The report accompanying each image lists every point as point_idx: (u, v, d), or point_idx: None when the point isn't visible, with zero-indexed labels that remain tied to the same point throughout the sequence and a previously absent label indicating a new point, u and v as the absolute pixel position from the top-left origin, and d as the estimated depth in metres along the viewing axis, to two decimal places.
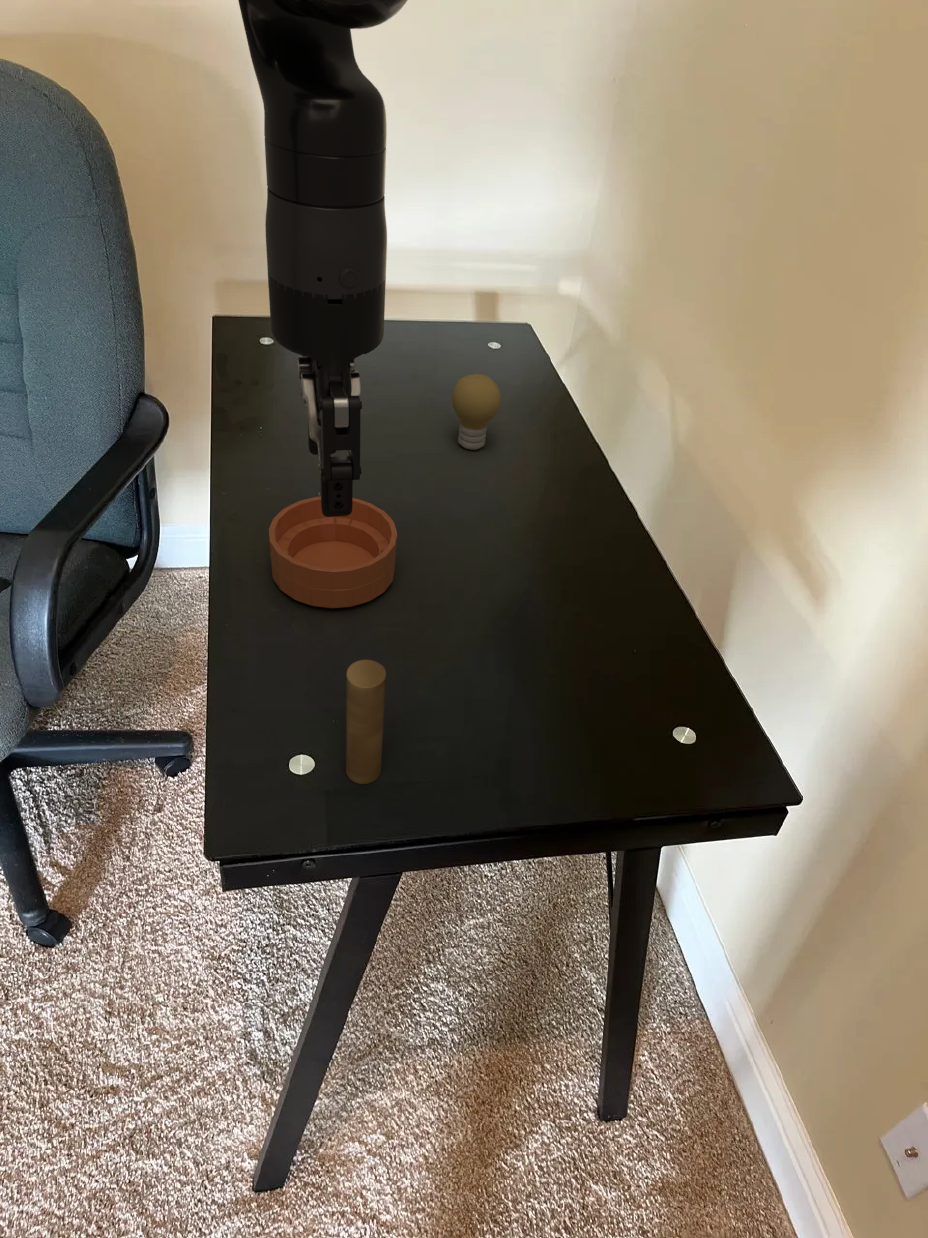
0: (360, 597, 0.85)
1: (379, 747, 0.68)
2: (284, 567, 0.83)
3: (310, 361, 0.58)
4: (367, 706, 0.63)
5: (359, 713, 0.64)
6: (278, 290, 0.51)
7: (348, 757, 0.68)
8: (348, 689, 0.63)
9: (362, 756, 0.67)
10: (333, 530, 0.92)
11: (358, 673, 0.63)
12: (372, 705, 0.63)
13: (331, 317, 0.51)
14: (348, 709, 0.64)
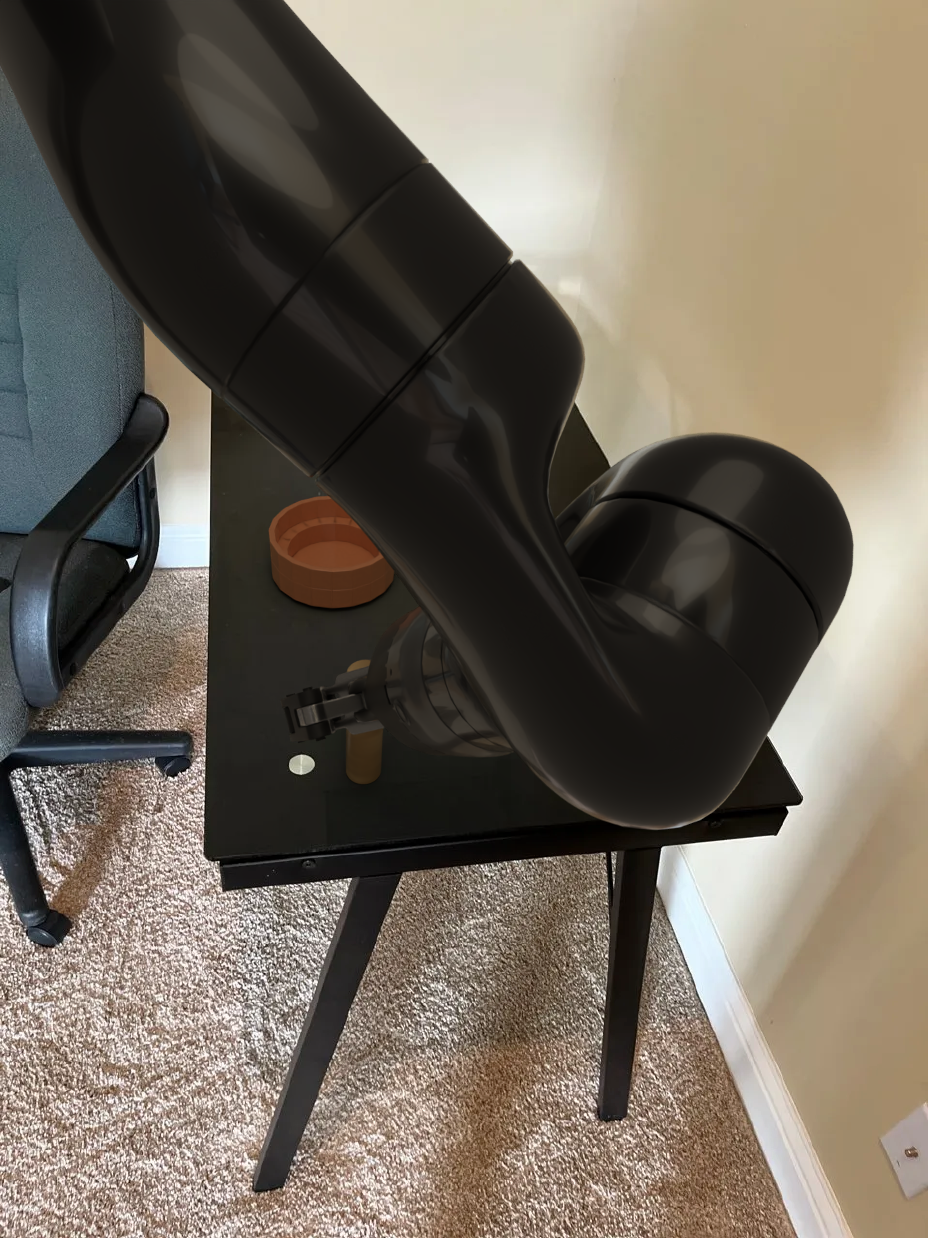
0: (360, 597, 0.85)
1: (379, 747, 0.68)
2: (284, 567, 0.83)
3: None
4: None
5: None
6: (408, 614, 0.38)
7: (348, 757, 0.68)
8: None
9: (362, 756, 0.67)
10: (333, 530, 0.92)
11: None
12: None
13: (381, 690, 0.38)
14: None
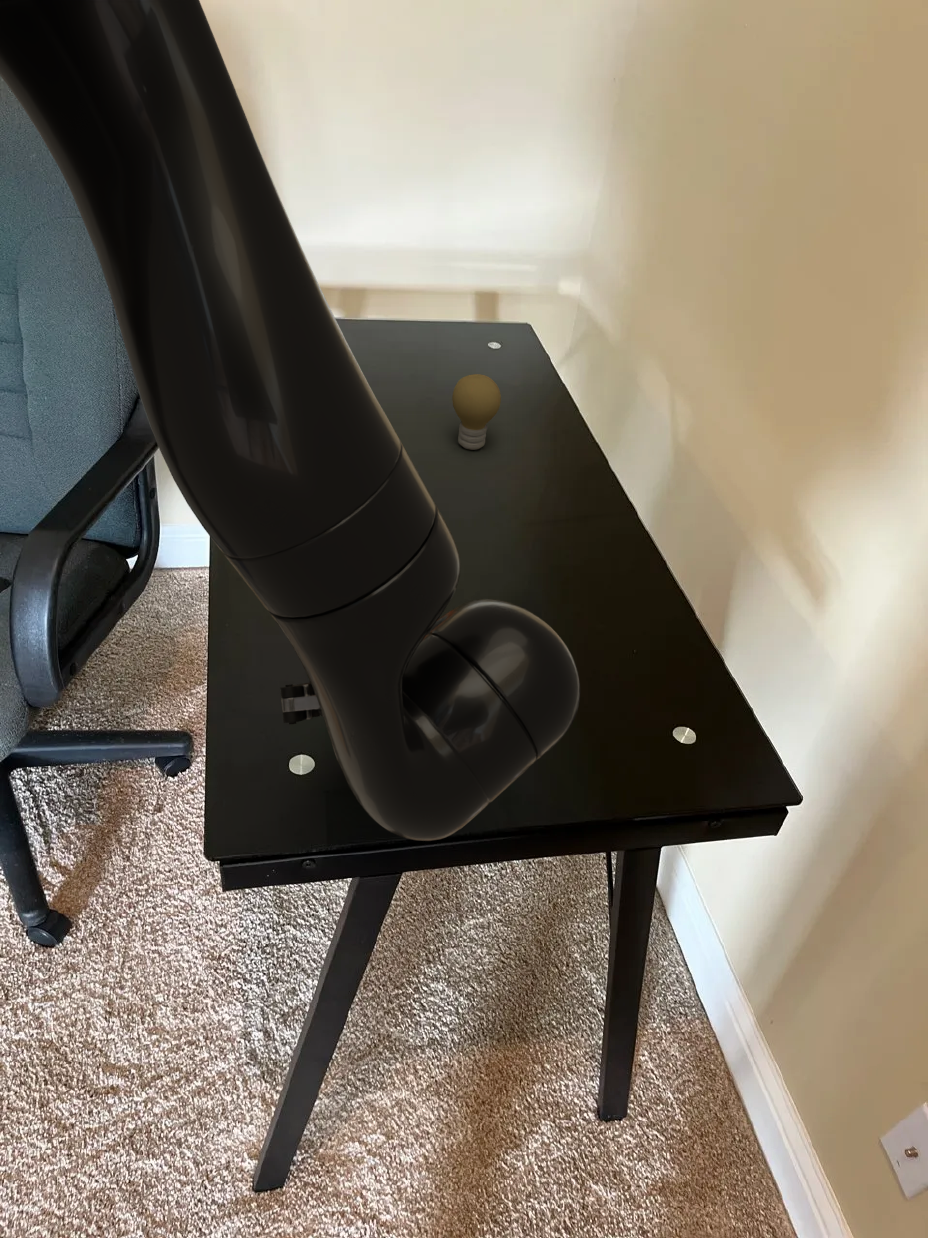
0: None
1: None
2: None
3: None
4: None
5: None
6: None
7: None
8: None
9: None
10: None
11: None
12: None
13: None
14: None
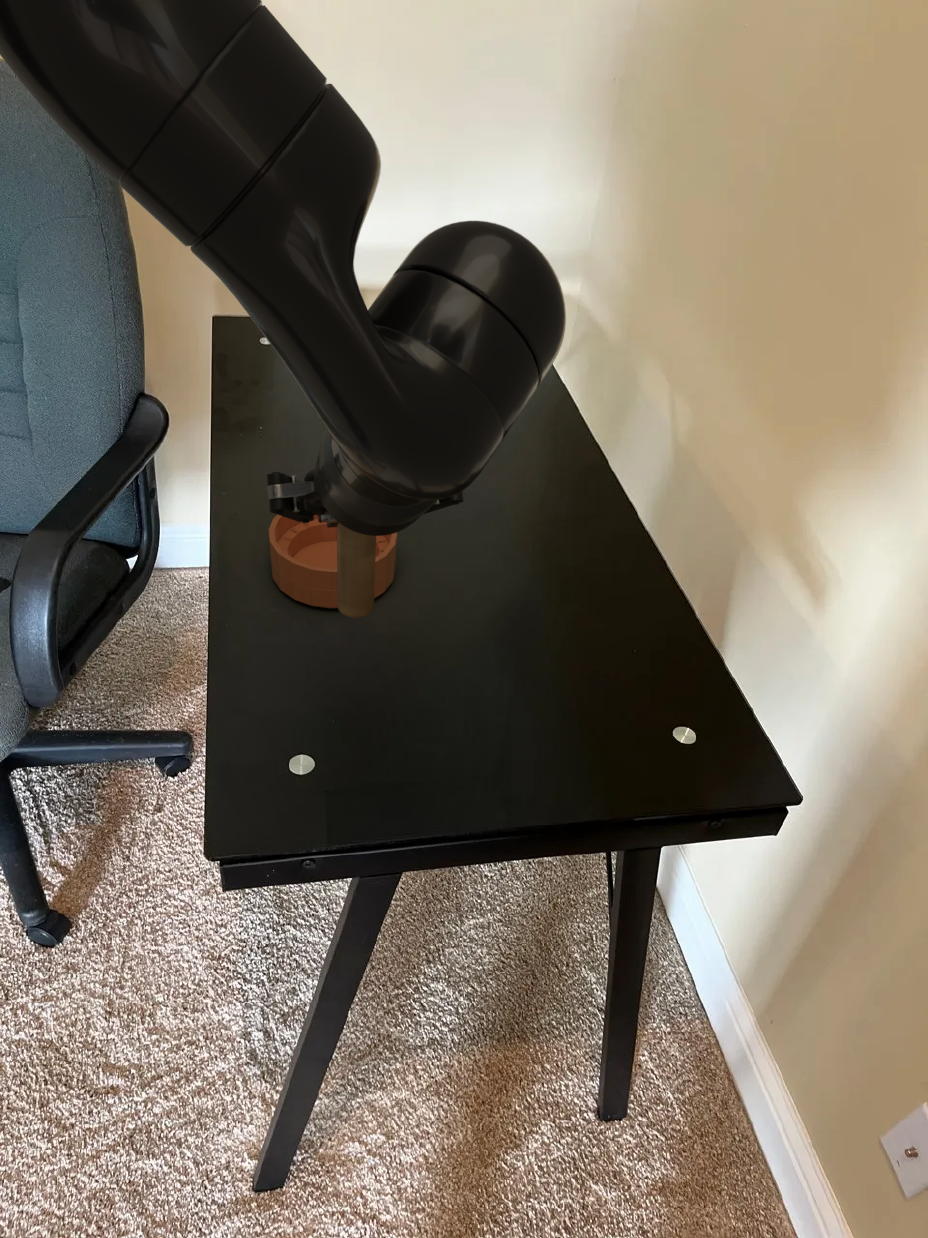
0: None
1: (371, 574, 0.65)
2: (284, 567, 0.83)
3: None
4: None
5: None
6: None
7: (339, 586, 0.66)
8: None
9: (354, 582, 0.65)
10: (333, 530, 0.92)
11: None
12: None
13: (317, 466, 0.49)
14: (339, 525, 0.62)
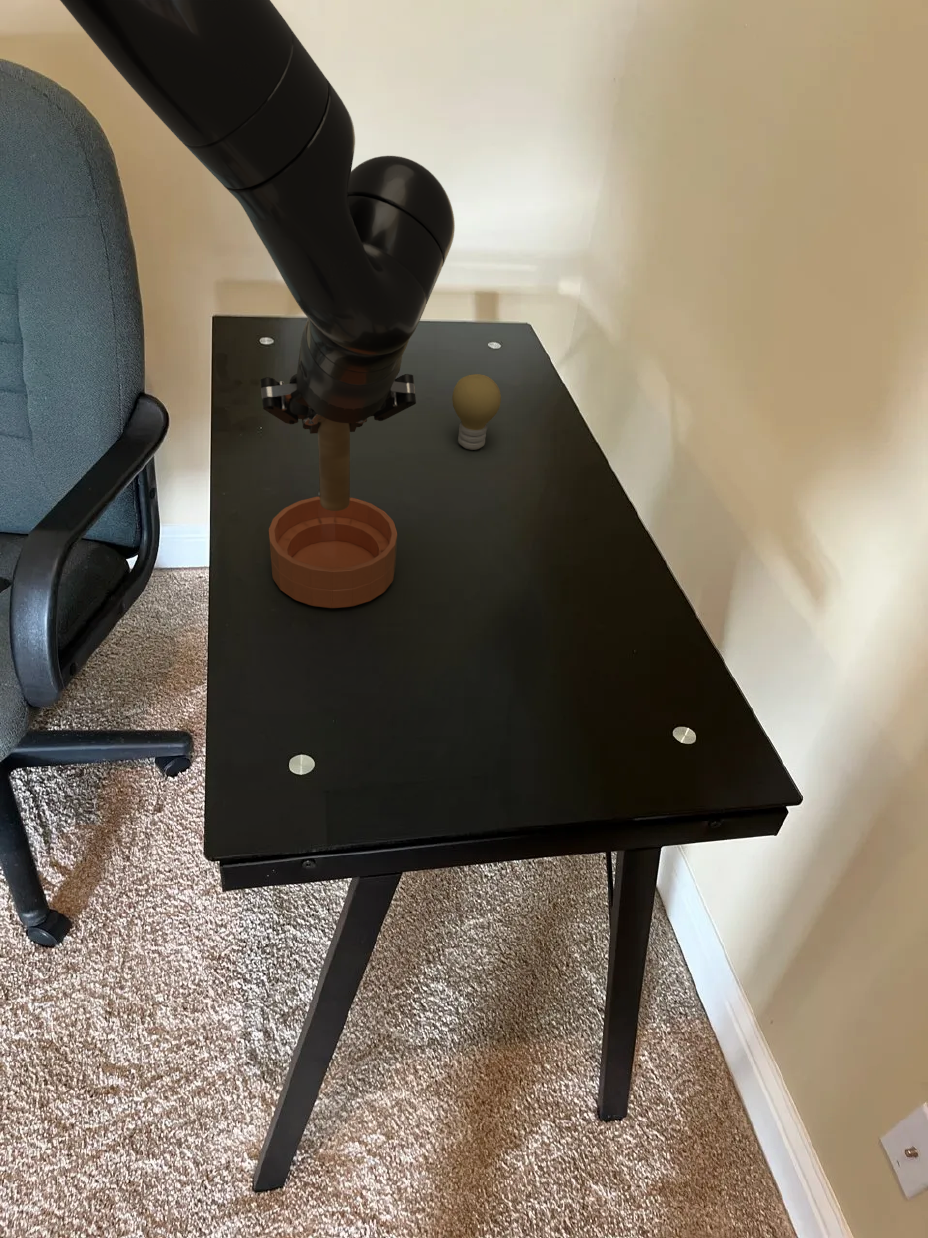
0: (360, 597, 0.85)
1: (346, 472, 0.81)
2: (284, 567, 0.83)
3: None
4: (334, 423, 0.76)
5: (328, 430, 0.77)
6: None
7: (321, 483, 0.81)
8: None
9: (332, 478, 0.80)
10: (333, 530, 0.92)
11: None
12: (338, 422, 0.76)
13: (298, 364, 0.64)
14: (319, 429, 0.77)
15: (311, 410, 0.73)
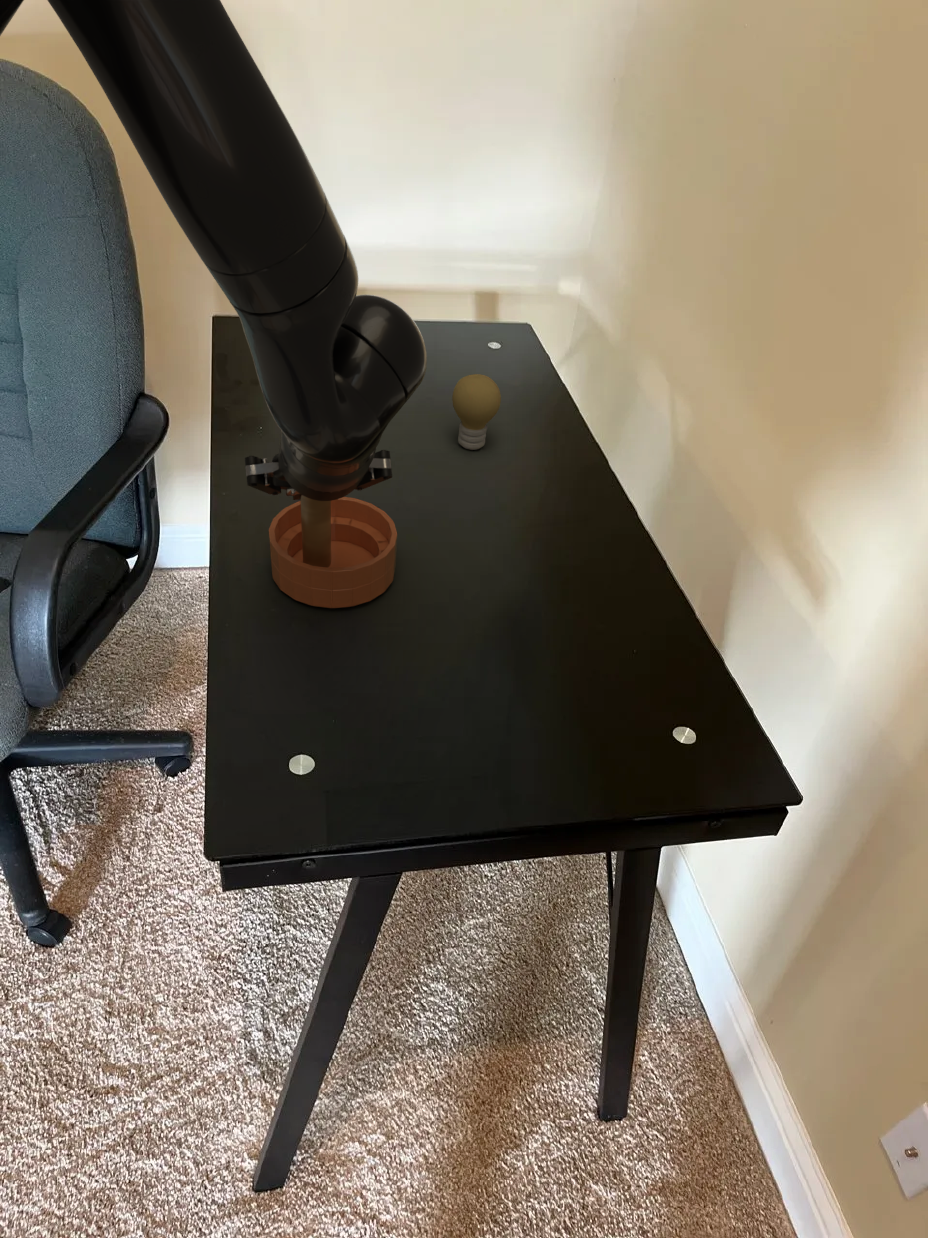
0: (360, 597, 0.85)
1: (328, 536, 0.85)
2: (284, 567, 0.83)
3: None
4: None
5: (310, 499, 0.81)
6: None
7: (303, 545, 0.86)
8: None
9: (314, 542, 0.84)
10: (333, 530, 0.92)
11: None
12: None
13: None
14: (301, 497, 0.82)
15: None
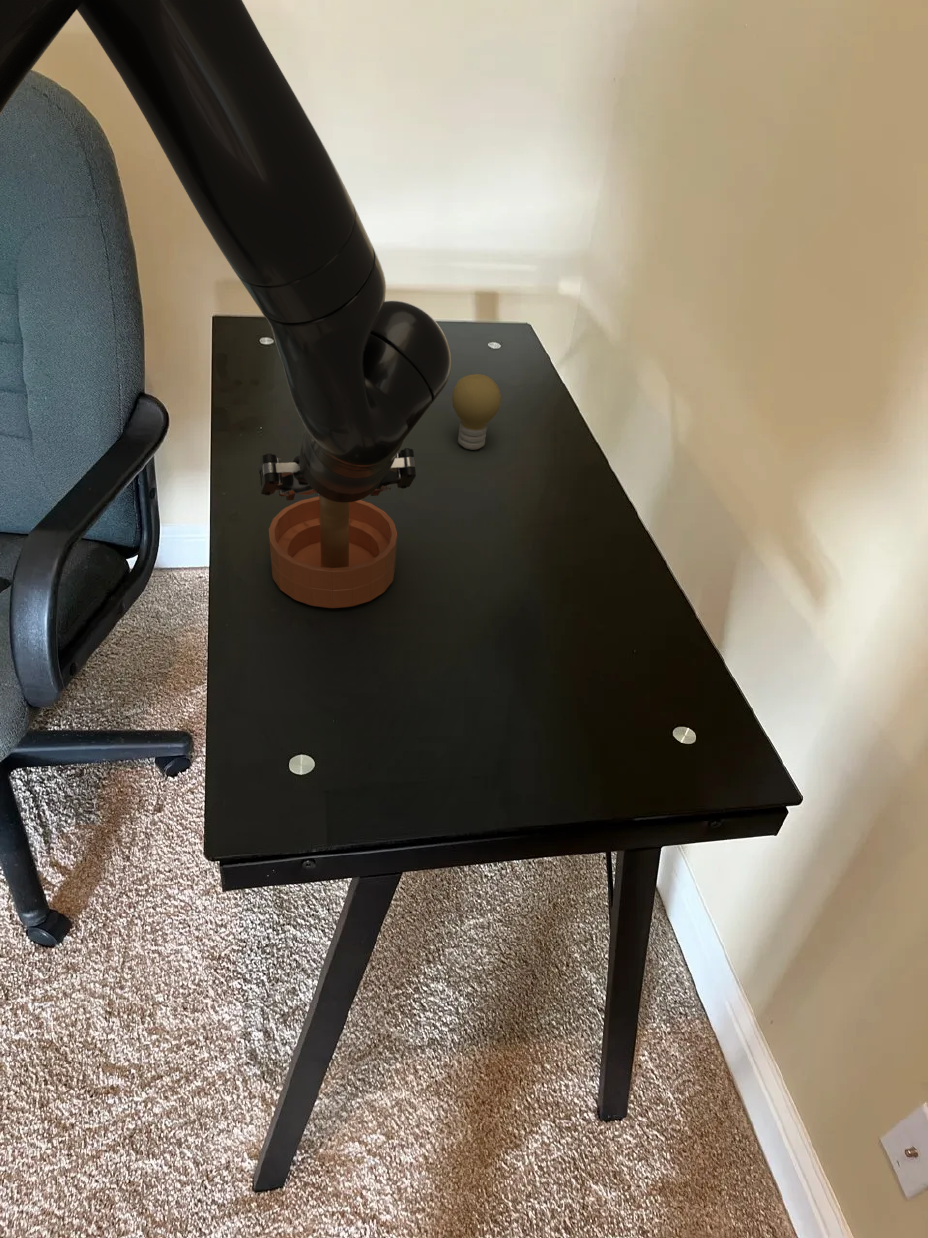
0: (360, 597, 0.85)
1: (346, 542, 0.87)
2: (284, 567, 0.83)
3: None
4: None
5: (329, 506, 0.83)
6: None
7: (322, 551, 0.87)
8: None
9: (333, 548, 0.86)
10: None
11: None
12: None
13: (301, 452, 0.69)
14: (321, 504, 0.83)
15: (299, 483, 0.77)
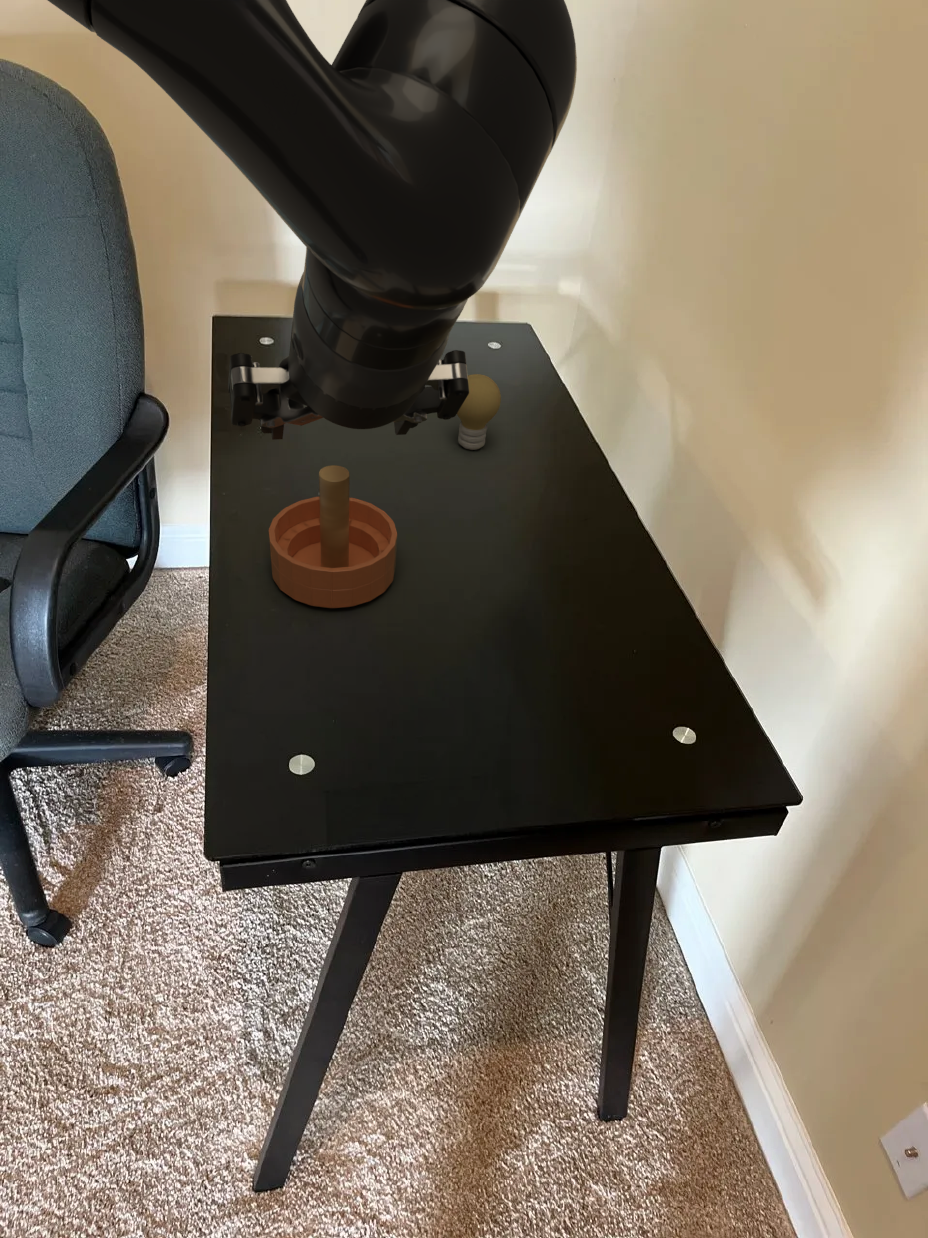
0: (360, 597, 0.85)
1: (346, 542, 0.87)
2: (284, 567, 0.83)
3: None
4: (335, 499, 0.82)
5: (329, 506, 0.83)
6: None
7: (322, 551, 0.87)
8: (320, 485, 0.82)
9: (333, 548, 0.86)
10: None
11: (328, 472, 0.82)
12: (339, 499, 0.82)
13: None
14: (321, 504, 0.83)
15: (289, 407, 0.50)
